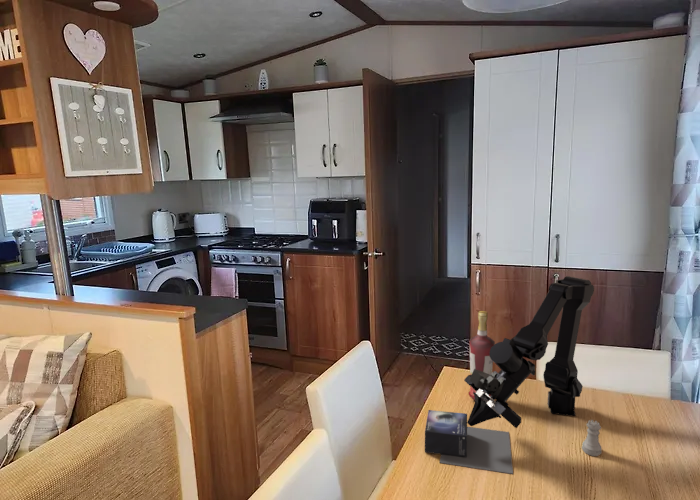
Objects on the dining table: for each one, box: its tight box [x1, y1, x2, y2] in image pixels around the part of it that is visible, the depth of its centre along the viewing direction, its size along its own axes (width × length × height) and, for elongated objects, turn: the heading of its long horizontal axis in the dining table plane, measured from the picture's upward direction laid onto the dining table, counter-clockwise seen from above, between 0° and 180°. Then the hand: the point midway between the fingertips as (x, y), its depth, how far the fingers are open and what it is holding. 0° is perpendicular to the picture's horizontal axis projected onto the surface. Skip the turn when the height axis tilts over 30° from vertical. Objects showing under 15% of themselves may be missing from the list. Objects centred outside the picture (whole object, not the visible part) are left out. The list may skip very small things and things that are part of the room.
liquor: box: [468, 310, 496, 401], centre depth 138 cm, size 7×7×28 cm
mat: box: [439, 426, 514, 475], centre depth 118 cm, size 17×17×1 cm
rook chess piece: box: [581, 419, 603, 457], centre depth 114 cm, size 4×4×8 cm
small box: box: [424, 409, 468, 457], centre depth 119 cm, size 11×6×10 cm
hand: (469, 424), depth 115 cm, fingers closed
